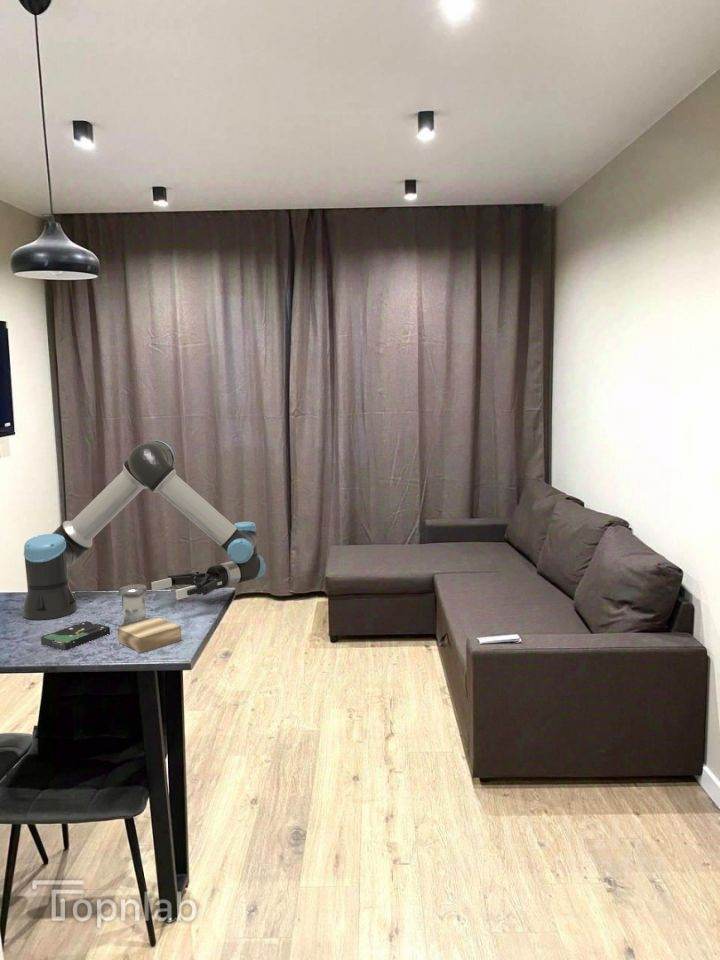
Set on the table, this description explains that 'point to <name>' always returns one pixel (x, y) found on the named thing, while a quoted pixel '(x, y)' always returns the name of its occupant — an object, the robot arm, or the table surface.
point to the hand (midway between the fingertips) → (163, 590)
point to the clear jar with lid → (133, 603)
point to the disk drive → (75, 635)
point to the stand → (149, 634)
